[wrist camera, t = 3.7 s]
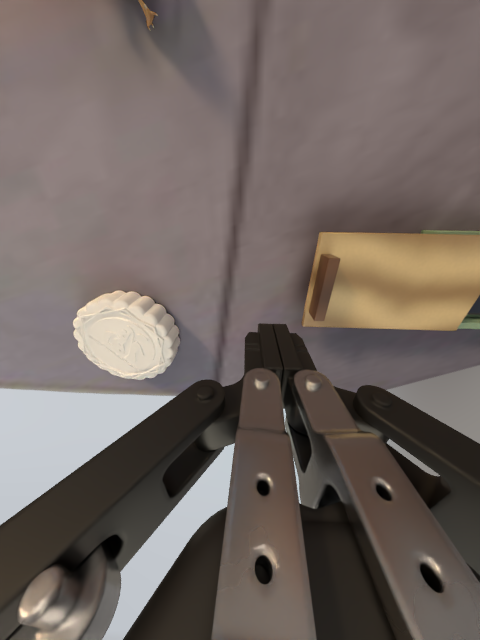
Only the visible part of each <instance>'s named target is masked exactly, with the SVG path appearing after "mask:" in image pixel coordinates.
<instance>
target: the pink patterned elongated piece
mask: <svg viewBox="0 0 480 640" xmlns="http://www.w3.org/2000/svg"><path fill="white" fill-rule="evenodd" d="M138 1H139V3H140V5H141V7H142V9H143V11H144V13H145V16H146V19H147V20H146V23H147V27H148V29H149V30H150V28H149V26H150V24H151V25H152V27H153V28H154V25H153V23H152V21H153V18H154V15H156V16H158V15H157V14H156V13H155V12H153V11H150V10H149V9H148V7H147V6H146V5H145V3H144V2H143V0H138ZM150 32H151V31H150Z"/></svg>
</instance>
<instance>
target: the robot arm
mask: <svg viewBox="0 0 480 640" xmlns="http://www.w3.org/2000/svg"><path fill="white" fill-rule="evenodd" d="M283 409H285V411H286V420H285V423H284V415H283ZM285 427H286V430H285ZM286 431H287V432H286ZM389 439H391V440H392V441H393V442H395V443H396V444H398V445H399V446H400V447H402V448H403V449H405V450H406V451H407V452H409V453H410V454H411V455H413V456H414V457H416V458H417V459H418V460H420V461H421V462H423V463H424V464H425V465H427V466H428V467H430V468H431V469H432V470H434V471H435V472H436V473H438V474H439V475H440V476H439V477H437V476H433V475H430V474H428V473H426V472H424V471H423V470H421V469H420V468H419V467H418V466H416V465H415V464H414V463H412V462H411V461H410V460H408V459H407V458H406V457H404V456H403V455H402V454H400V453H399V452H398V451H396V450H395V449H393V448H392V447H391V446H389V445H388V444H387V441H388V440H389ZM233 443H235V447H234V455H233V464H232V472H231V480H230V488H229V496H228V505H227V507H226V508H224V509H222V510H220V511H218V512H217V513H215V514H214V515H213V516H211V517H210V518H209V519H208V520H207V521H206V522H205V523H203V524H202V525H201V526H200V528H199V529H198V530H197V531H196V532H195V534H194V535H193V536H192V537H191V539H190V540H189V542H188V543H187V544H186V546H185V547H184V549H183V551H182V552H181V553H180V555H179V557H178V558H177V559H176V561H175V562H174V564H173V566H172V567H171V569H170V570H169V571H168V573H167V574H166V576H165V577H164V579H163V580H162V582H161V583H160V585H159V586H158V588H157V589H156V591H155V592H154V594H153V595H152V597H151V598H150V600H149V602H148V603H147V604H146V606H145V607H144V609H143V610H142V612H141V613H140V615H139V616H138V618H137V619H136V621H135V622H134V624H133V625H132V627H131V628H130V630H129V631H128V633H127V634H126V636H125V637H124V639H123V640H480V444H479V443H477V442H475V441H473V440H472V439H470V438H468V437H467V436H465V435H463V434H461V433H460V432H458V431H456V430H454V429H453V428H451V427H449V426H447V425H446V424H444V423H442V422H440V421H439V420H437V419H435V418H433V417H432V416H430V415H428V414H426V413H425V412H423V411H421V410H419V409H418V408H416V407H414V406H413V405H411V404H409V403H407V402H406V401H404V400H402V399H400V398H398V397H397V396H395V395H393V394H391V393H390V392H388V391H386V390H384V389H382V388H379V387H376V386H371V385H365V386H361V387H360V388H359V389H358V391H357V393H354V392H351V391H347V390H344V389H340V388H337V387H334V386H333V385H332V383H331V382H330V380H329V379H328V378H327V377H326V376H324V375H323V374H321V373H319V372H317V370H316V368H315V365H314V363H313V361H312V359H311V357H310V355H309V353H308V350H307V348H306V347H305V344H304V342H303V340H302V338H300V337H299V336H298V335H297V334H296V333H289V330H288V328H287V325H286V324H258V332H249V333H248V334H247V336H246V337H245V365H244V376H243V378H242V379H241V380H240V381H239V382H237V383H235V384H233V385H229V386H225V387H222V385H221V384H220V383H218V382H216V381H214V380H201V381H198V382H196V383H194V384H193V385H191V386H190V387H189V388H187V389H186V390H184V391H183V392H182V393H180V394H179V395H178V396H176V397H175V398H174V399H173V400H171V401H169V402H168V403H167V404H165V405H164V406H163V407H161V408H160V409H159V410H157V411H156V412H155V413H153V414H152V415H150V416H149V417H148V418H146V419H145V420H144V421H142V422H141V423H140V424H138V425H137V426H135V427H134V428H133V429H131V430H130V431H128V432H127V433H126V434H124V435H123V436H122V437H120V438H119V439H118V440H116V441H115V442H113V443H112V444H111V445H109V446H108V447H107V448H105V449H104V450H103V451H101V452H100V453H99V454H97V455H96V456H94V457H93V458H92V459H90V460H89V461H88V462H86V463H85V464H84V465H82V466H81V467H79V468H78V469H77V470H75V471H74V472H73V473H71V474H70V475H68V476H67V477H66V478H64V479H63V480H62V481H60V482H59V483H58V484H56V485H55V486H53V487H52V488H51V489H49V490H48V491H47V492H46V493H44V494H43V495H41V496H40V497H39V498H37V499H36V500H34V501H33V502H32V503H30V504H29V505H28V506H26V507H25V508H23V509H22V510H21V511H19V512H18V513H17V514H15V515H14V516H13V517H11V518H10V519H8V520H7V521H6V522H5V523H3V524H2V525H0V640H102V638H103V637H104V635H105V633H106V631H107V629H108V628H109V625H110V623H111V621H112V618H113V616H114V613H115V611H116V608H117V604H118V600H119V596H120V589H121V575H120V572H121V570H122V569H123V568H124V567H125V565H126V564H127V563H128V562H129V561H130V559H131V558H132V557H133V556H134V555H135V554H136V553H137V551H138V550H139V549H140V548H141V547H142V545H143V544H144V543H145V542H146V541H147V539H148V538H149V537H150V536H151V535H152V534H153V532H154V531H155V530H156V529H157V528H158V526H159V525H160V524H161V523H162V522H163V521H164V519H165V518H166V517H167V516H168V515H169V513H170V512H171V511H172V510H173V508H174V507H175V506H176V505H177V504H178V503H179V501H180V500H181V499H182V498H183V497H184V495H185V494H186V493H187V492H188V491H189V490H190V488H191V487H192V486H193V485H194V484H195V483H196V481H197V480H198V479H199V478H200V477H201V475H202V474H203V473H204V472H205V471H206V469H207V468H208V467H209V466H210V464H212V462H213V461H214V460H215V459H216V458H217V456H218V455H219V454H220V453H221V452H222V450H223V449H224V447H225V446H228V445H231V444H233ZM293 458H294V461H295V465H296V468H297V472H298V477H299V490H300V499H301V504H300V503H299V500H298V492H297V484H296V476H295V469H294V461H293Z"/></svg>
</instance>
